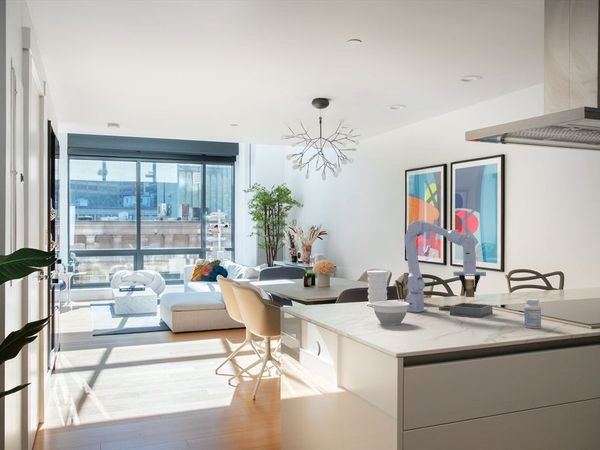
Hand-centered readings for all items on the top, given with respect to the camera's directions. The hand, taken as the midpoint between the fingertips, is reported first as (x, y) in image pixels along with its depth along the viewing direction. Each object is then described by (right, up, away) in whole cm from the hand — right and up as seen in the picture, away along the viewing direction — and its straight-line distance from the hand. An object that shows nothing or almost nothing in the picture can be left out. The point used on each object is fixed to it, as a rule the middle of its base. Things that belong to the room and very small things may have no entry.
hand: (469, 291), depth 257 cm
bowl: (-41, -11, -23) cm, 48 cm away
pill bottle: (+14, -10, -36) cm, 40 cm away
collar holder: (-5, -11, +14) cm, 19 cm away
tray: (0, -10, -1) cm, 11 cm away
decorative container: (-39, -12, +32) cm, 51 cm away
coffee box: (-18, -11, +41) cm, 47 cm away
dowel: (0, -2, 0) cm, 2 cm away
